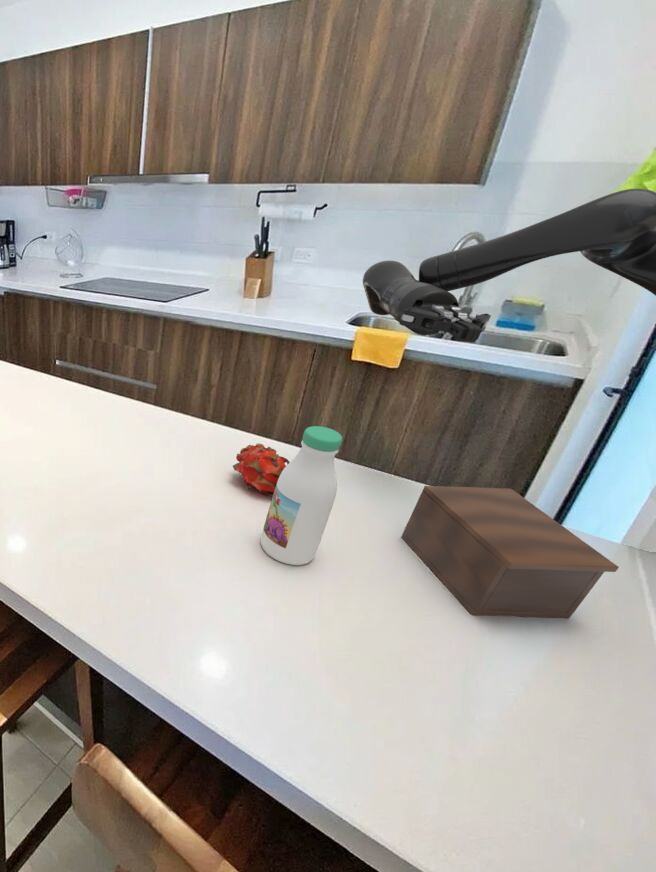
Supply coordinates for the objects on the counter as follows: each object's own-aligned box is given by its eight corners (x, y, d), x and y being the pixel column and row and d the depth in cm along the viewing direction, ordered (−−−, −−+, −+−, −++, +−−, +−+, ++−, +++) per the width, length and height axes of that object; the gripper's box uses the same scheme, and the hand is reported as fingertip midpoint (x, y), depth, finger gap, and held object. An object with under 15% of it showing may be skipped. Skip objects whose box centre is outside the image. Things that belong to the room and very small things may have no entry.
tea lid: (615, 572, 60) (619, 567, 59) (508, 568, 60) (511, 563, 59) (508, 492, 74) (511, 488, 74) (422, 490, 74) (424, 485, 74)
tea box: (569, 618, 65) (608, 567, 61) (471, 615, 65) (502, 563, 61) (482, 539, 79) (508, 493, 74) (400, 536, 79) (422, 490, 74)
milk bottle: (309, 538, 78) (349, 424, 68) (318, 571, 71) (363, 450, 62) (257, 529, 80) (289, 416, 70) (261, 560, 73) (296, 441, 63)
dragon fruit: (228, 476, 96) (284, 513, 89) (216, 468, 89) (276, 506, 82) (255, 440, 95) (314, 474, 88) (244, 428, 88) (307, 464, 81)
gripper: (387, 282, 86) (432, 305, 71) (472, 287, 84) (537, 312, 69) (372, 325, 90) (413, 356, 75) (453, 331, 88) (512, 364, 73)
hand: (472, 335), depth 72 cm, fingers closed
